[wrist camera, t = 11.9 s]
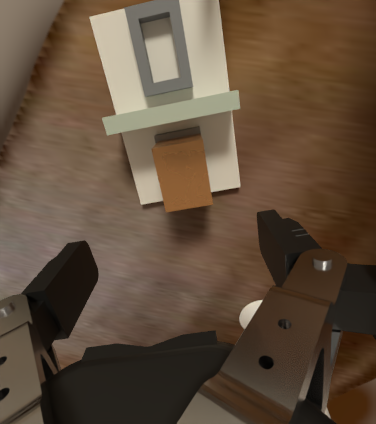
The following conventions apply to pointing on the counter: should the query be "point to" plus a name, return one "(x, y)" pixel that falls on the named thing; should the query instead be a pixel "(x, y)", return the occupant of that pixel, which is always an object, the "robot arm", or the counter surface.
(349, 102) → the counter surface
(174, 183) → the orange brown block
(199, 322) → the counter surface
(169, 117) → the plate
